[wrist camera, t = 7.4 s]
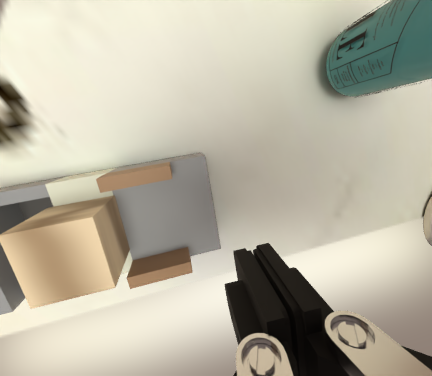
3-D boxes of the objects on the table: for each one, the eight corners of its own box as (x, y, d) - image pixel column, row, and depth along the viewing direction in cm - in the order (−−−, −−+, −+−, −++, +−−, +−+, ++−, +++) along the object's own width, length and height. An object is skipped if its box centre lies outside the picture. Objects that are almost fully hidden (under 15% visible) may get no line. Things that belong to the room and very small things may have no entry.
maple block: (114, 195, 17) (92, 217, 13) (130, 249, 19) (115, 287, 14) (47, 207, 17) (-3, 236, 12) (68, 263, 18) (30, 308, 13)
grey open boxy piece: (199, 152, 21) (210, 158, 16) (214, 232, 24) (227, 263, 18) (-1, 188, 19) (-77, 210, 13) (37, 274, 21) (-13, 326, 15)
